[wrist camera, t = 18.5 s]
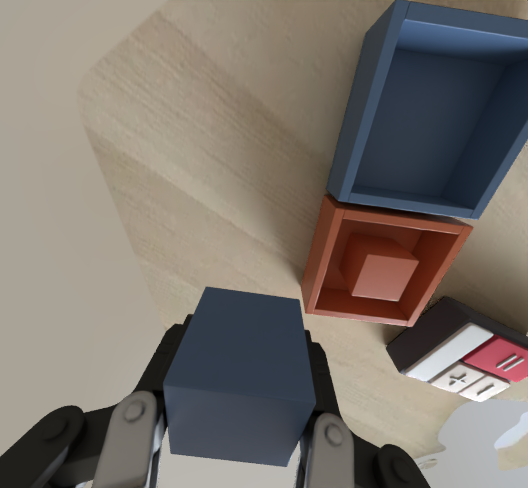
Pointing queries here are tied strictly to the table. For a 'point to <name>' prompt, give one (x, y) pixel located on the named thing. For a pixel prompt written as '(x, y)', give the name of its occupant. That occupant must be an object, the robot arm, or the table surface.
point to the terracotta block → (376, 267)
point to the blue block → (240, 380)
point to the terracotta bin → (382, 225)
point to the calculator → (461, 351)
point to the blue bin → (433, 111)
